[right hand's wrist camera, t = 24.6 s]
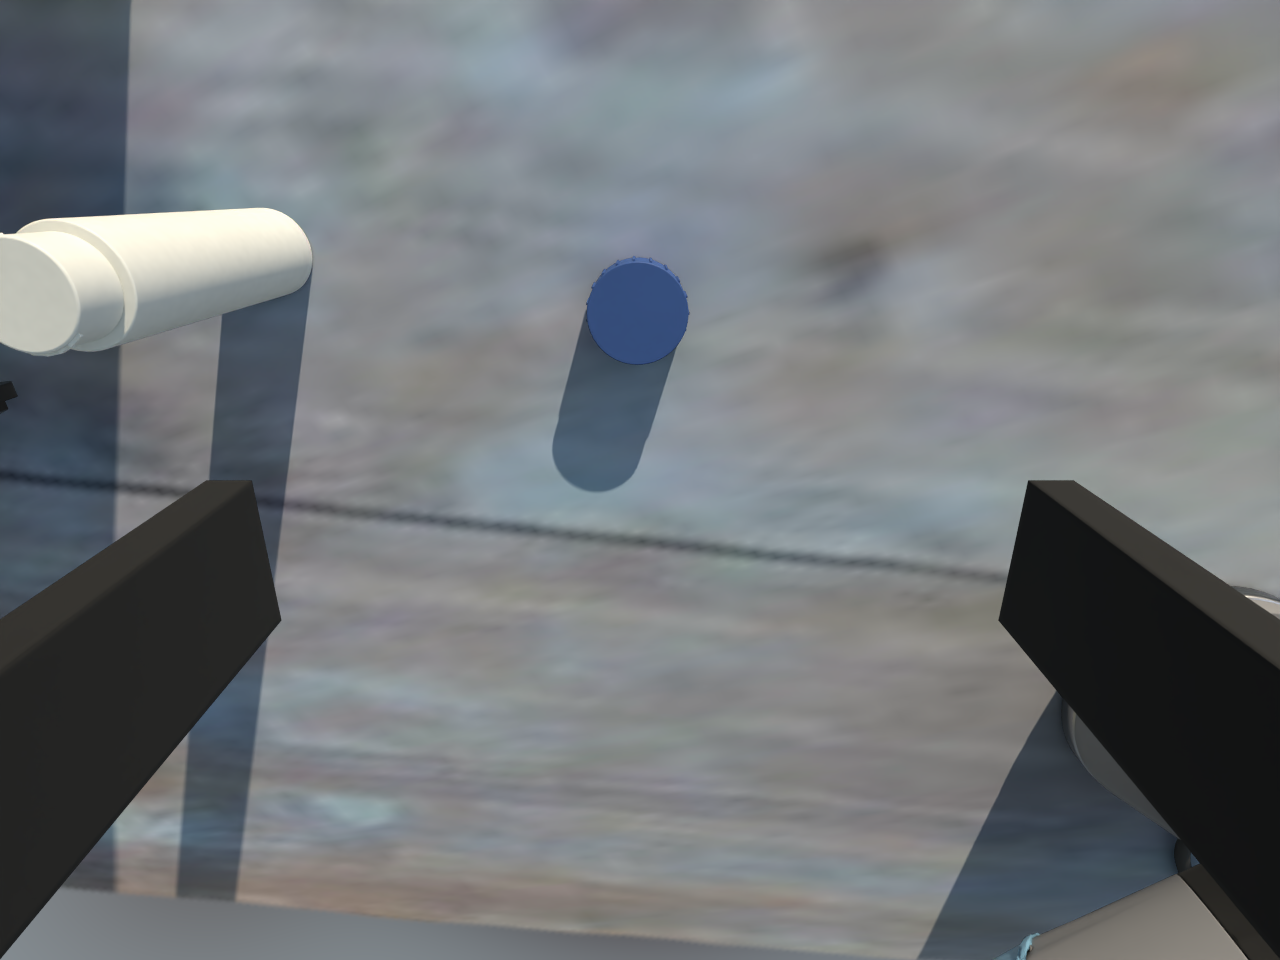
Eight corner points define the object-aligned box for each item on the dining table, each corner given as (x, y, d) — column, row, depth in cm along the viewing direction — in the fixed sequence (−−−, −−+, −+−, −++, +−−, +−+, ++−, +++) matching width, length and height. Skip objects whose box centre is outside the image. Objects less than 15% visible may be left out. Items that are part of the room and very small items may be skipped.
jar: (210, 248, 36) (-84, 290, 21) (262, 188, 35) (-8, 188, 20) (277, 313, 37) (42, 393, 22) (330, 256, 36) (120, 303, 21)
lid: (696, 343, 38) (699, 353, 35) (602, 366, 38) (600, 376, 36) (675, 245, 36) (677, 249, 34) (577, 270, 36) (573, 275, 34)
